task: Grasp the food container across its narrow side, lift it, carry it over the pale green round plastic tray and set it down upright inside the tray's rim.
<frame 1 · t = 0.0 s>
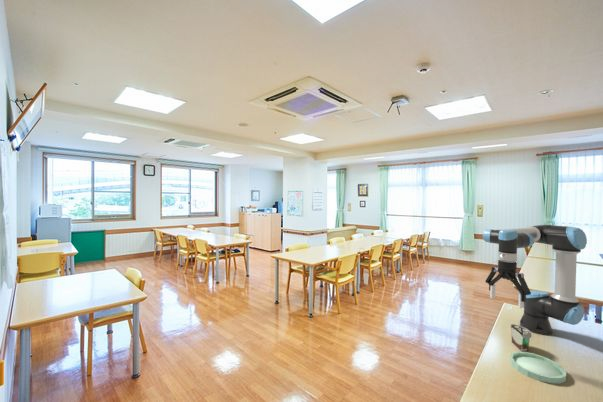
hand: (506, 302, 139), 28 cm above the table, fingers open, 13 cm apart
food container: (522, 348, 148), on the table
tray: (536, 369, 130), on the table
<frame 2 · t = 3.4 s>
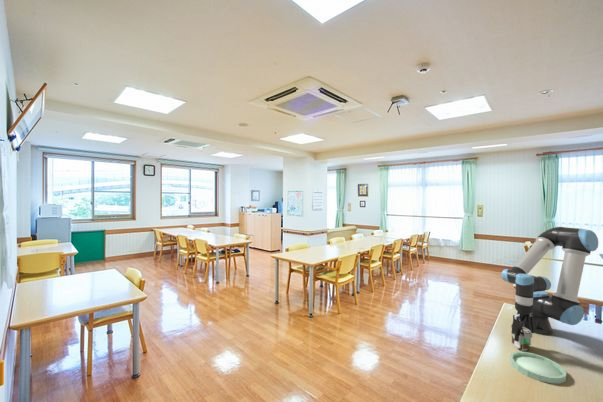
hand: (522, 345, 148), 1 cm above the table, fingers closed on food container, 8 cm apart
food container: (523, 348, 148), on the table, touching gripper
when the fingers open (2 cm above the table, at t = 8.2 s): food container stays where it is, resting on tray.
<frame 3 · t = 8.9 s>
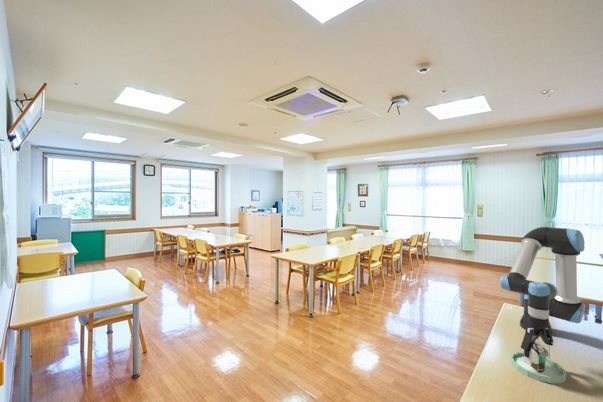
hand: (536, 360, 130), 4 cm above the table, fingers open, 13 cm apart
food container: (537, 367, 130), point 1 cm above the table, touching tray
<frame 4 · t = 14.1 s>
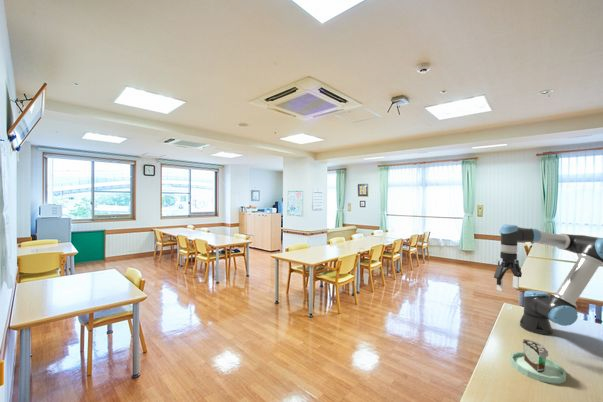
hand: (507, 289, 156), 29 cm above the table, fingers open, 13 cm apart
nothing on the table moved.
at the end: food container inside the target area on the tray (0.6 cm from its centre), point 0.8 cm above the tray's base; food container tilted 0°; the gripper is holding nothing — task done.
